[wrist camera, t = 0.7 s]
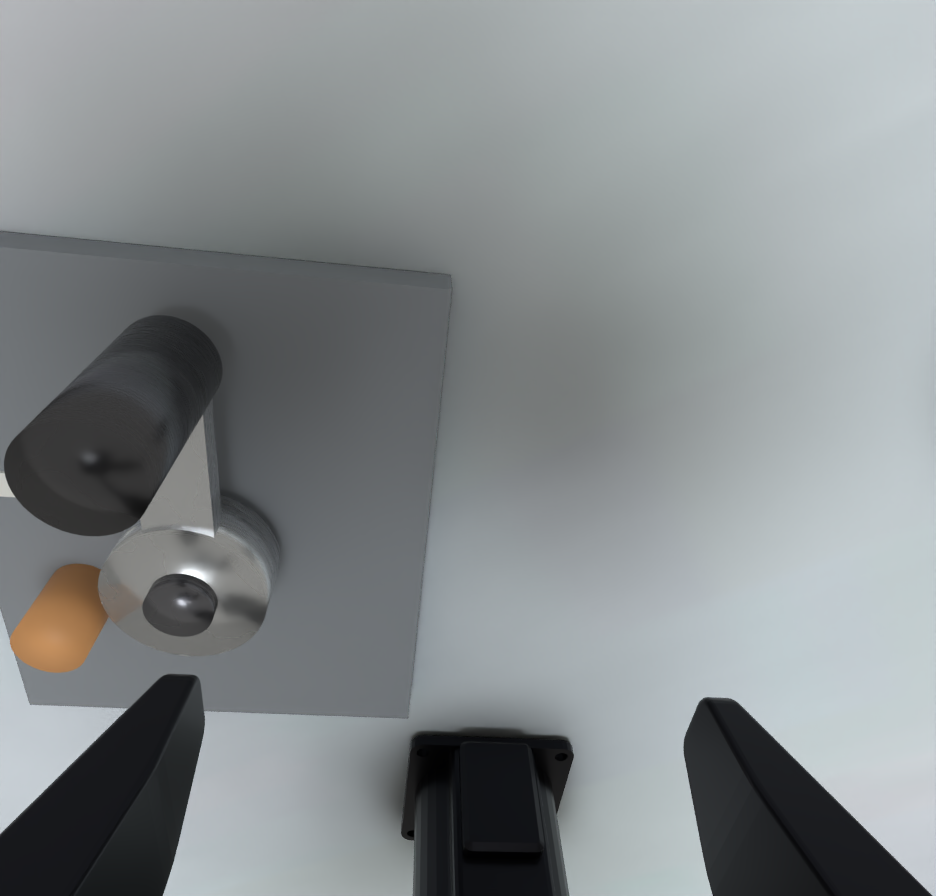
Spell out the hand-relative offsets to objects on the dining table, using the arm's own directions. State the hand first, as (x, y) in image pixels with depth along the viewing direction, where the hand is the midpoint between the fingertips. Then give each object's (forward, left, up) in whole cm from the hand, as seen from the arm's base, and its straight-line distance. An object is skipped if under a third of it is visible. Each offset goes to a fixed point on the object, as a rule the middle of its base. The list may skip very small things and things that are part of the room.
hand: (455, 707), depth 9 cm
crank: (-4, +7, -10) cm, 13 cm away
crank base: (-6, +7, -12) cm, 15 cm away
